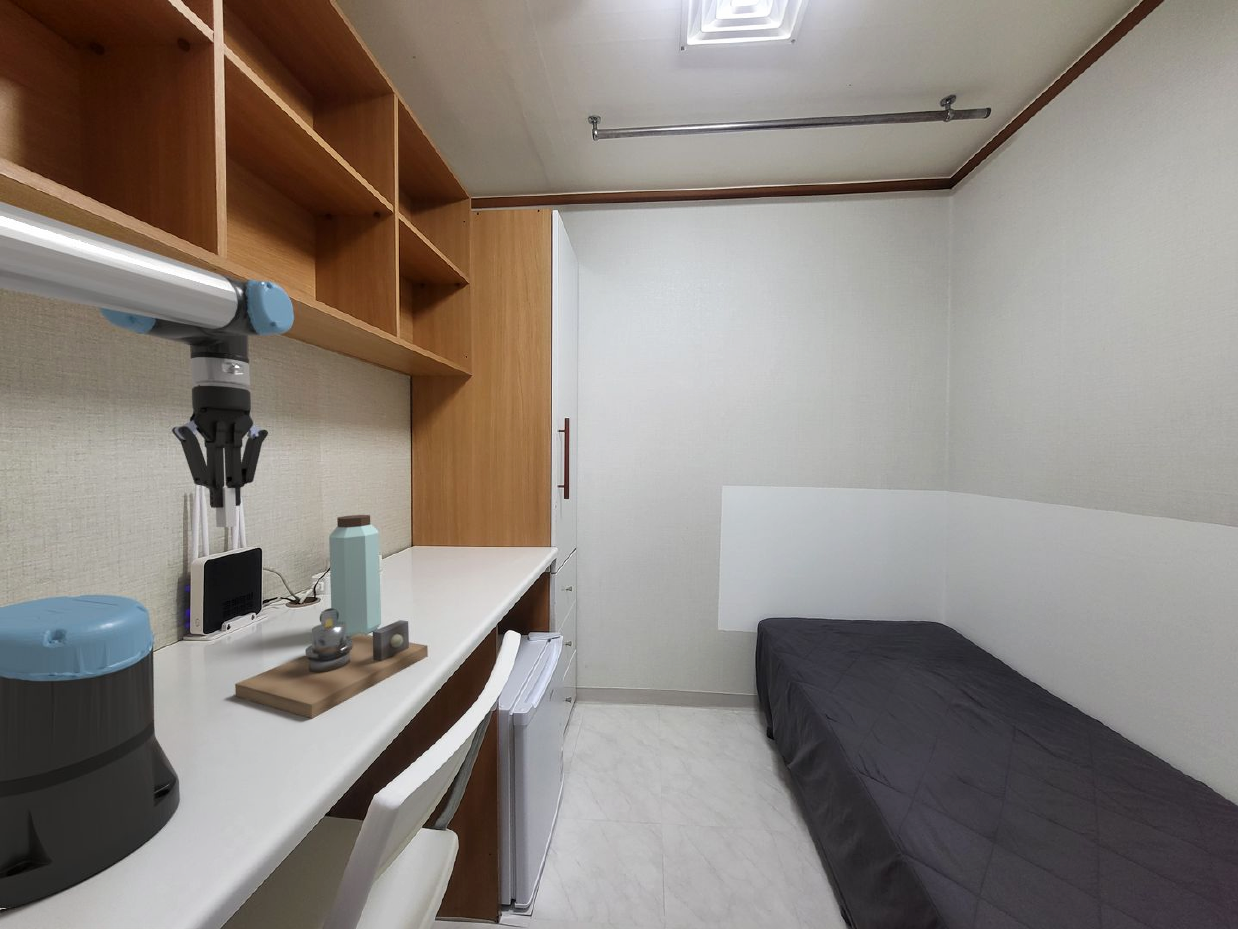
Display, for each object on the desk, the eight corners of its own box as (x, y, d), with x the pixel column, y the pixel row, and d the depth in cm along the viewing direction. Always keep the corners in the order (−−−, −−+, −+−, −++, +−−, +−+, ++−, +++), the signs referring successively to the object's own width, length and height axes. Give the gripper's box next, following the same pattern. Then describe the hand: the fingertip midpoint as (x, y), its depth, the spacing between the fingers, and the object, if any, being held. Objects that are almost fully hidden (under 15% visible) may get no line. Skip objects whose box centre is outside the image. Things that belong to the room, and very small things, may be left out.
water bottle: (342, 643, 94) (338, 521, 93) (322, 632, 100) (319, 517, 99) (391, 628, 102) (388, 515, 101) (370, 619, 108) (367, 512, 107)
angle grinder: (353, 654, 79) (352, 624, 79) (304, 665, 75) (303, 633, 75) (350, 627, 92) (349, 601, 92) (308, 634, 88) (307, 607, 88)
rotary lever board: (312, 718, 66) (310, 670, 66) (235, 696, 73) (233, 652, 73) (427, 656, 87) (426, 619, 87) (359, 643, 93) (358, 609, 93)
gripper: (186, 379, 70) (191, 533, 71) (277, 390, 82) (281, 521, 83) (159, 383, 73) (164, 531, 73) (251, 393, 85) (255, 520, 85)
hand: (226, 526), depth 78 cm, fingers closed
